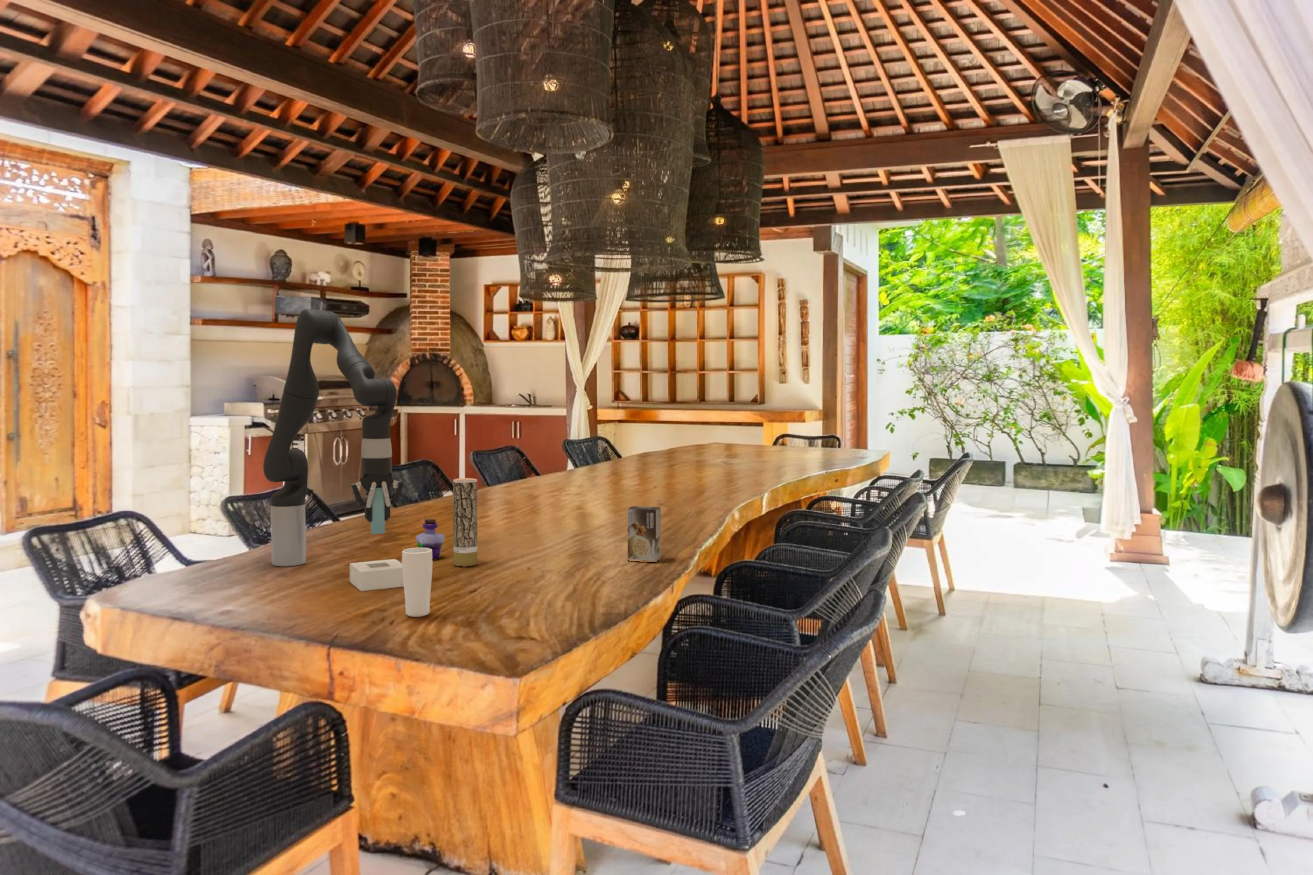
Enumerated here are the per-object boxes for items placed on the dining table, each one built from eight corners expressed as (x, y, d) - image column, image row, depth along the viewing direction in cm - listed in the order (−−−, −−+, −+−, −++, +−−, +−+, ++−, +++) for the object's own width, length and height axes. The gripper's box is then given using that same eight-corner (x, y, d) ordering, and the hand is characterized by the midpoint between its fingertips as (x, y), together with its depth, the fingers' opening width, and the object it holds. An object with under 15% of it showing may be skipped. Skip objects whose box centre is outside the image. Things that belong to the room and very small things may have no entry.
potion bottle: (409, 559, 271) (409, 519, 270) (427, 554, 279) (427, 515, 278) (433, 562, 268) (433, 521, 267) (451, 557, 276) (450, 517, 275)
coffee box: (661, 559, 276) (662, 506, 274) (656, 563, 269) (656, 509, 268) (632, 557, 278) (632, 505, 277) (626, 561, 271) (626, 508, 270)
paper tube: (471, 568, 260) (471, 481, 259) (449, 566, 262) (449, 480, 260) (481, 563, 267) (480, 478, 265) (459, 562, 268) (459, 477, 267)
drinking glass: (405, 610, 213) (404, 547, 212) (434, 610, 213) (434, 547, 212) (399, 618, 206) (399, 553, 205) (430, 618, 207) (429, 552, 206)
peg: (369, 532, 239) (368, 487, 238) (383, 531, 241) (382, 486, 240) (372, 534, 236) (371, 488, 235) (386, 533, 238) (386, 487, 237)
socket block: (349, 581, 242) (349, 563, 241) (395, 577, 248) (395, 558, 247) (360, 591, 231) (360, 571, 231) (407, 585, 238) (407, 567, 237)
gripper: (399, 453, 244) (400, 517, 245) (345, 455, 237) (346, 521, 238) (407, 455, 238) (408, 520, 239) (352, 457, 230) (353, 525, 232)
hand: (377, 520), depth 238 cm, fingers closed on peg, 3 cm apart
